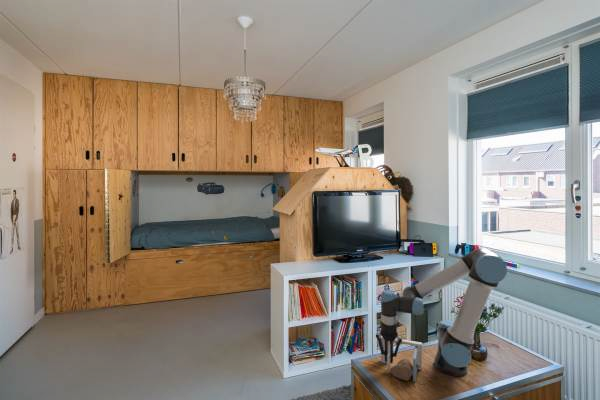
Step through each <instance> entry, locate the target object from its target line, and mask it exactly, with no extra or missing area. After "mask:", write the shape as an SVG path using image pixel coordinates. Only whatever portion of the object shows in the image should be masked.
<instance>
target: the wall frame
mask: <svg viewBox="0 0 600 400" xmlns="http://www.w3.org/2000/svg"><path fill="white" fill-rule="evenodd" d="M381 340H382V344H383V348H384V351H385V340H384V339H383V337H382V336H381ZM393 343H396V344H397V338H396V339H395V340H394V341H393ZM400 344H402V345H409V346H414V347H415V346H418V364H420V368H418V369H417V371H418V370H419V371H422V369H423V342H419V341H414V340H408V339H404V338H402V342H401V343H400ZM388 354H390V341H388ZM380 363H383V364H387V362H385V355H383V354H381V353H380Z"/></svg>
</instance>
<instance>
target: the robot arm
mask: <svg viewBox="0 0 600 400" xmlns="http://www.w3.org/2000/svg"><path fill="white" fill-rule="evenodd" d="M507 274H508V267H507V264H506V261H504V259H503V257H501V256H499V254H497V253H495V252H494V250H492V249H489V248H485V247H481V248H477V249H474V250H472V251H470V252H468V253H467V254H464V255H463V256H461V257H460V258H459V260H458V261H456V262H454V263H453V264H451V265H449V266H447V267H445V268H444V269H442V270H440V271H438V272H436V273H434V274H432V275H431V276H429V277H427V278H425V279H423V280H421V281H420V282H417V283H416V284H414V285H412V286H410V285H409V286H405V287H404V288H403V290H402V295H398V292H397V291H395V290H393V289H392V290H391V289H384V290H383V291H381V295H380V312H381V313H380V314H381V315H380V321H381V322H380V332H376V333H375V338H376V339H377V342H378V347H379V350H380V355H381V354H383V355H385V362H387V363H386V370H387V371H390V369H391V368H392V366H391V364H393V363H394V358H396V357H397V356H398V352H399V348H400V345H401V344H402V343H401V342H402V339H403V337H402V336H400V335H399V333H398V324H397V323H398V313H402V314H412V315H423V314H424V300H423V299H425V298H427V297H428V296H430V295H432V294H434V293H436V292H438V291H440V290H442V289H444V288H446V287H448V286H450V285H452V284H454V283H456V282H458V281H459V280H462V279H463V278H465V277H467V276H468V278H469V283H468V286H467V288H466V291H465V293H464V296H463V299H462V301H461V303H460V306H459V308H458V311H457V314H456V316H455V319H454V320H448V319H446V320H445V319H444V320H440V321H439V322H438V323H437V324H438V326H437V329H438V330H437V332H438V333H437V334H438V335H437V346H438V347H437V352H436V354H435V356H434V358H433V359H434V361H433V362H434V367H435V368H436V369H437V370H439V372H441V373H442V374H446V375H449V376H452V377H453V376H454V377H461V376H465V375H466V374H468V365H470V364H471V361H472V353H471V352H472V349H473V346H474V344H475V340H474V338H473V336H474V333H475V330H476V328H477V326H478V323H479V321H480V318H481V316H482V313H483V310H484V309H485V306H486V304H487V301H488V298H489V296H490V294H491V291H492V290H493V289H496V288H498V285H499V283H500V282H502V281H503V280H504V279H505V277H506V276H507ZM381 336H382V337H383V339H384V340H385V351H384V348H383V344H382V340H381ZM396 338H397V343H396V346H395V349H394V342H393V341H394V340H395V339H396ZM388 341H390V354H388Z"/></svg>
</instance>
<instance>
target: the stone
mask: <svg viewBox="0 0 600 400" xmlns="http://www.w3.org/2000/svg"><path fill="white" fill-rule="evenodd" d="M389 371H390V374H392V376H393V377H395V378H398V379H400V380H402V381H406V382H407V381H409V380H411V379H412V376H413V363H411V361H410V360H409V359H407V358H403V359H400V360H399V361H398V362H397V363H396V364H395V365H394V366H391V368H390V370H389Z"/></svg>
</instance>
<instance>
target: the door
mask: <svg viewBox="0 0 600 400" xmlns="http://www.w3.org/2000/svg"><path fill="white" fill-rule="evenodd" d="M412 366H413V374H412V382H415V383H416V381H417V374H418V368H420V364H418V346H414V350H413V356H412Z"/></svg>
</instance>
